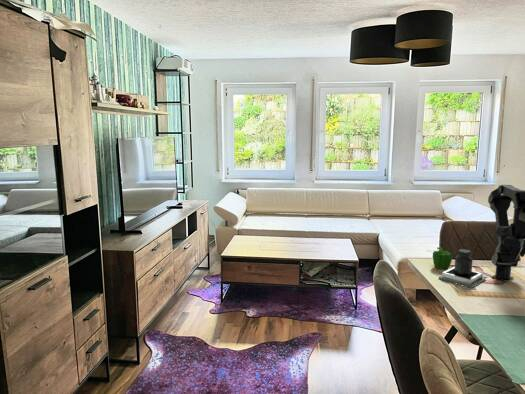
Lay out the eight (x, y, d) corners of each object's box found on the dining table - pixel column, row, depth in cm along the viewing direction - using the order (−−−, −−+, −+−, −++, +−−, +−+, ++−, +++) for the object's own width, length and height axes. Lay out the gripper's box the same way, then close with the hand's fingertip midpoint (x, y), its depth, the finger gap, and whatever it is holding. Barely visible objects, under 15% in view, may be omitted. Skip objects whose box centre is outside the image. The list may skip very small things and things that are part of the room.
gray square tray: (453, 271, 185) (453, 265, 185) (485, 280, 175) (486, 273, 174) (438, 278, 176) (439, 272, 176) (471, 288, 166) (472, 281, 165)
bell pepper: (452, 266, 192) (453, 246, 190) (449, 272, 185) (451, 251, 183) (433, 263, 196) (434, 244, 194) (430, 268, 189) (431, 248, 188)
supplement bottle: (473, 280, 172) (475, 253, 170) (455, 279, 173) (458, 252, 171) (468, 274, 178) (470, 248, 176) (452, 273, 180) (454, 248, 178)
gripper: (508, 214, 172) (504, 250, 174) (490, 221, 160) (486, 259, 162) (538, 219, 163) (534, 256, 166) (522, 226, 151) (517, 266, 154)
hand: (517, 259), depth 162 cm, fingers open, 9 cm apart
